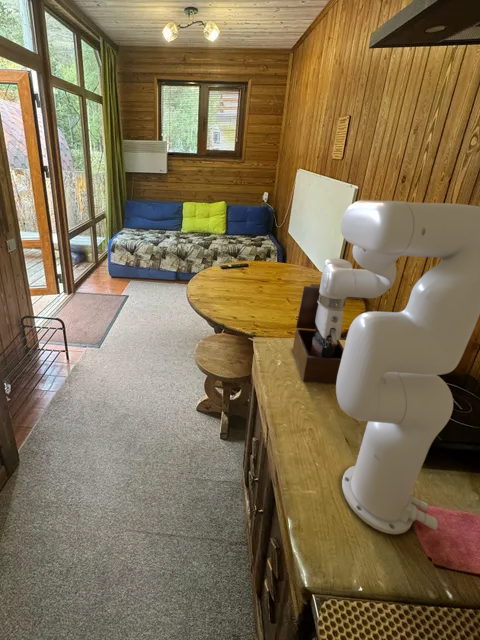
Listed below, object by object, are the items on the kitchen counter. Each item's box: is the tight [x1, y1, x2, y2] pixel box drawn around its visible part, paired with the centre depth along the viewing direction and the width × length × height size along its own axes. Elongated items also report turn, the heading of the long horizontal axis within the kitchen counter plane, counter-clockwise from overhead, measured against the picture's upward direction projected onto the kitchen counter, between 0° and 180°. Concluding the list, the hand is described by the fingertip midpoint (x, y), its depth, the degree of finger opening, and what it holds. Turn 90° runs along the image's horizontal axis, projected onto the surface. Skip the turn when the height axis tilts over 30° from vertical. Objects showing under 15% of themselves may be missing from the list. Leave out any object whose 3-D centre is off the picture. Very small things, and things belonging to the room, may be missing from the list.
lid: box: [295, 283, 321, 330], centre depth 104 cm, size 16×13×6 cm
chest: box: [292, 328, 344, 385], centre depth 100 cm, size 16×13×9 cm
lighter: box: [310, 332, 334, 357], centre depth 97 cm, size 8×3×10 cm, turn 19°
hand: (322, 349), depth 97 cm, fingers closed on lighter, 7 cm apart
